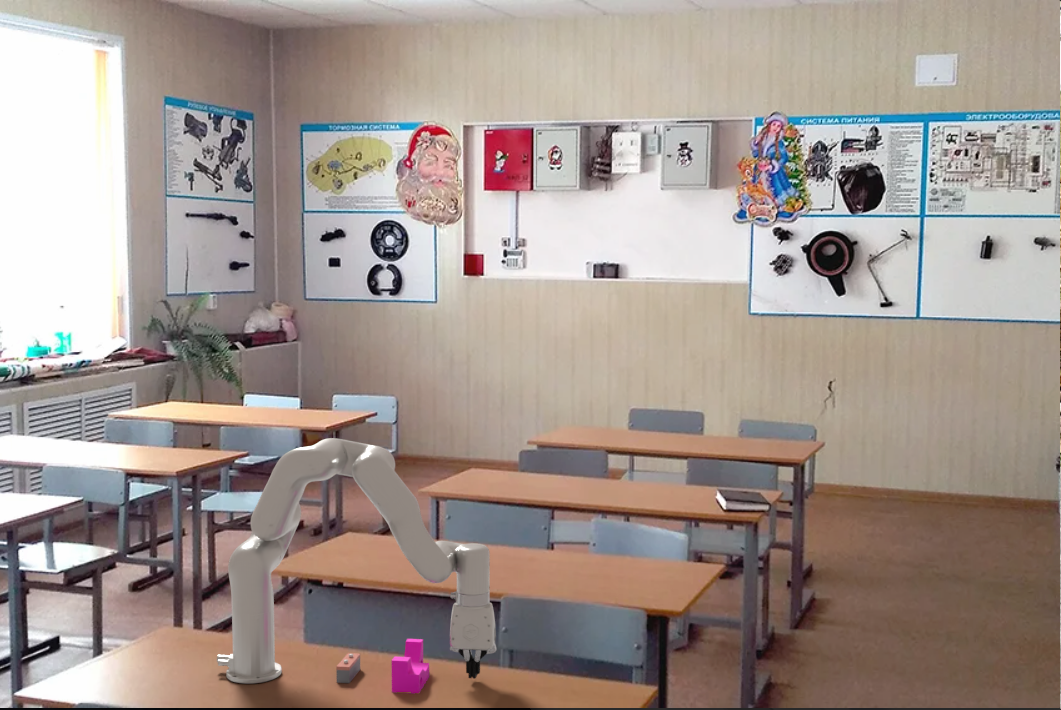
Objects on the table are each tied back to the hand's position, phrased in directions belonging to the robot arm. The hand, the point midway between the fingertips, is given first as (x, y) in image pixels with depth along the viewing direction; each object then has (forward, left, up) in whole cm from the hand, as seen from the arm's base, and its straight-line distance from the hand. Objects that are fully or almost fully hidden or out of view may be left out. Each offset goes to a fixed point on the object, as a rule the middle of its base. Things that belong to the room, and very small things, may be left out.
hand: (473, 676), depth 267 cm
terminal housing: (-29, 0, -1) cm, 29 cm away
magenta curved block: (-14, -1, -2) cm, 14 cm away
